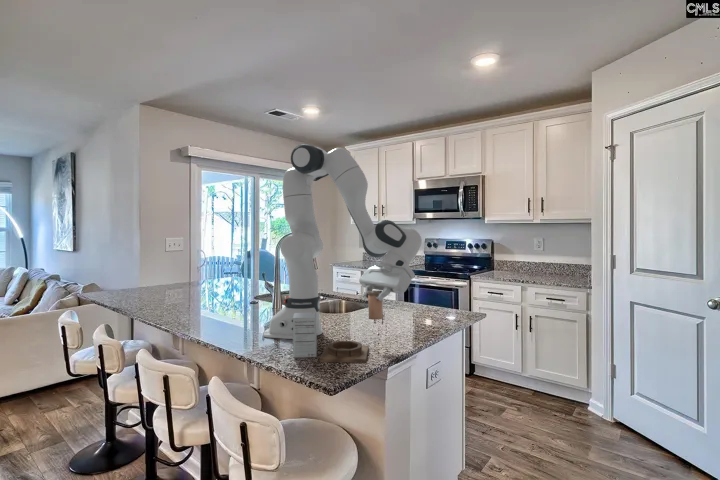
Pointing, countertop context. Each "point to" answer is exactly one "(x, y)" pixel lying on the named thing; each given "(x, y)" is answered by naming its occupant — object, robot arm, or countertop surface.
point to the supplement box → (304, 335)
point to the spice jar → (375, 306)
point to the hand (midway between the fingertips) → (371, 298)
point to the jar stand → (345, 352)
